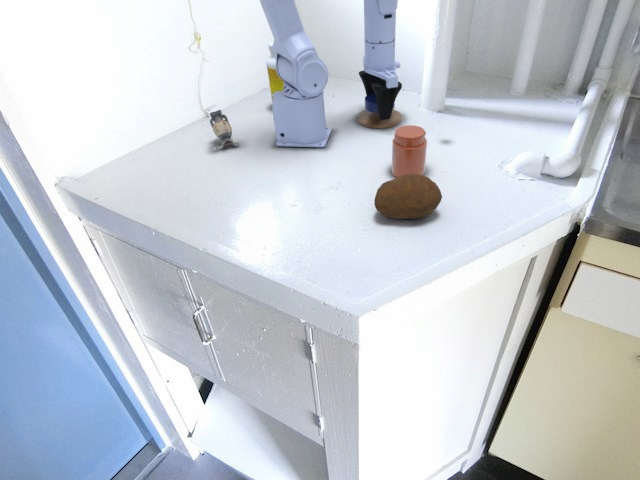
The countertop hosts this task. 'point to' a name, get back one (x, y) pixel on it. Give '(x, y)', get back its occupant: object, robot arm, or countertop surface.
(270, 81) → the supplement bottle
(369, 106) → the lid
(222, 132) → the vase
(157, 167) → the countertop surface
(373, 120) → the coaster
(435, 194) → the potato
